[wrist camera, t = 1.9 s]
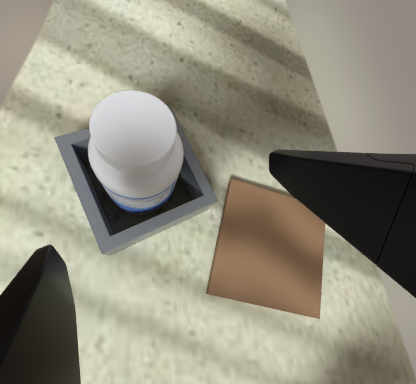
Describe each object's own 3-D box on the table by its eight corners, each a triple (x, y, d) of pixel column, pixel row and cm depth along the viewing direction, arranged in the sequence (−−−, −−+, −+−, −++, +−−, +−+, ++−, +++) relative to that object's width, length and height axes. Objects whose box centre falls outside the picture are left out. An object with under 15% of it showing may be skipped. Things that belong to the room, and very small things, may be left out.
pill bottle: (122, 147, 21) (103, 57, 12) (180, 168, 22) (205, 99, 12) (96, 204, 19) (48, 152, 10) (160, 225, 20) (172, 194, 11)
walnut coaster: (315, 317, 21) (319, 318, 20) (206, 293, 19) (208, 294, 19) (321, 209, 24) (325, 207, 23) (229, 180, 22) (231, 178, 22)
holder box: (207, 210, 21) (218, 200, 18) (110, 255, 18) (101, 254, 15) (166, 128, 22) (169, 105, 19) (70, 158, 19) (54, 137, 16)
